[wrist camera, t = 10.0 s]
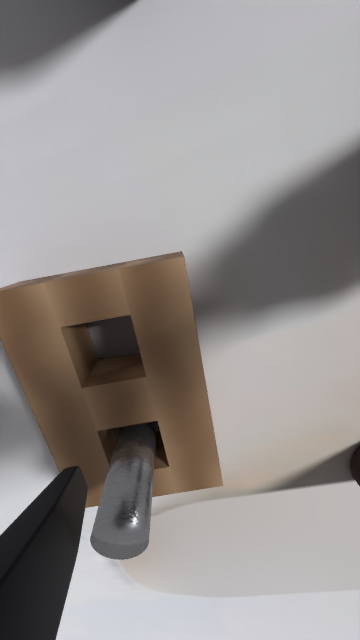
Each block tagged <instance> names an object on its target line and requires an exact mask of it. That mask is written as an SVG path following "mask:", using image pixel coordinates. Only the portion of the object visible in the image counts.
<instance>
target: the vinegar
mask: <svg viewBox="0 0 360 640" xmlns="http://www.w3.org/2000/svg"><path fill="white" fill-rule="evenodd" d="M350 468H351V473H352V476H353V478H354V479H355V480H356V482H357V483H358V485H359V486H360V447H359V448H358V449H357V451H356V452H355V454H354V456H353V457H352V461H351V466H350Z"/></svg>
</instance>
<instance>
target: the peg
mask: <svg viewBox="0 0 360 640" xmlns="http://www.w3.org/2000/svg"><path fill="white" fill-rule="evenodd" d="M157 422H158V421H152V422H146V423H141V424H135V425H129V426H123V427H120V428H119V432H118V435H117V439H116V443H115V447H114V450H113V454H112V458H111V462H110V466H109V469H108V473H107V477H106V481H105V485H104V488H103V492H102V496H101V500H100V504H99V507H98V511H97V515H96V519H95V523H94V526H93V530H92V534H91V538H90V541H91V545H92V547H93V548H94V550H95V551H96V552H98V553H99V554H101V555H102V556H105V557H108V558H111V559H129V558H133V557H136V556H138V555H139V554H141V553H142V552H143V551H144V550H145V549H146V548H147V546H148V543H149V531H150V518H151V504H152V490H153V476H154V463H155V449H156V435H157Z"/></svg>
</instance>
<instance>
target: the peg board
mask: <svg viewBox="0 0 360 640" xmlns="http://www.w3.org/2000/svg"><path fill="white" fill-rule="evenodd" d="M126 315H131V319H132V323H133V327H134V331H135V334H136V338H137V342H138V346H139V350H140V353H135V354H129V355H123V356H118V357H112V358H106V359H101V360H98V359H97V356H96V353H95V350H94V346H93V343H92V340H91V337H90V334H89V331H88V328H87V325H86V323H88V322H93V321H99V320H104V319H110V318H115V317H121V316H126ZM0 339H1V341H2V343H3V346H4V348H5V350H6V352H7V355H8V357H9V359H10V362H11V364H12V366H13V368H14V371H15V373H16V375H17V377H18V380H19V382H20V384H21V386H22V389H23V391H24V393H25V395H26V398H27V400H28V402H29V404H30V407H31V409H32V411H33V413H34V416H35V418H36V420H37V422H38V425H39V427H40V429H41V431H42V434H43V436H44V438H45V440H46V443H47V445H48V447H49V449H50V452H51V454H52V456H53V458H54V461H55V463H56V465H57V467H58V470H59V472H61V471H62V470H63V469H65V468H67V467H72V466H79V467H80V468H81V470H82V473H83V475H84V478H85V480H86V483H87V487H88V493H87V500H86V506H85V508H87V507H93V506H99V504H100V500H101V496H102V492H103V488H104V485H105V481H106V477H107V473H108V469H109V466H110V462H111V458H112V454H113V450H114V447H115V443H116V439H117V435H118V432H119V427H123V426H129V425H135V424H141V423H146V422H152V421H158V424H159V428H160V431H157V435H156V449H155V463H154V476H153V490H152V497H155V496H162V495H168V494H174V493H180V492H186V491H193V490H199V489H205V488H211V487H217V486H223V481H222V476H221V470H220V464H219V458H218V452H217V446H216V440H215V435H214V429H213V423H212V417H211V411H210V405H209V399H208V394H207V388H206V382H205V376H204V370H203V364H202V358H201V353H200V347H199V341H198V335H197V329H196V323H195V317H194V312H193V306H192V300H191V294H190V288H189V282H188V276H187V271H186V265H185V259H184V255H183V253H182V251H181V252H176V253H171V254H165V255H160V256H155V257H149V258H144V259H139V260H133V261H128V262H123V263H117V264H112V265H107V266H102V267H96V268H91V269H86V270H80V271H75V272H70V273H64V274H59V275H54V276H48V277H43V278H38V279H33V280H27V281H22V282H18V283H15V284H12V285H9V286H6V287H3V288H0Z"/></svg>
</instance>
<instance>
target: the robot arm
mask: <svg viewBox="0 0 360 640" xmlns="http://www.w3.org/2000/svg"><path fill="white" fill-rule="evenodd" d="M87 493H88V487H87V483H86V480H85V478H84V475H83V473H82V470H81V468H80V467H79V466H72V467H67V468H65V469H63V470H62V471H61V472H60V473H59V474H58V476H57V477H56V478H55V479H54V480H53V481H52V482H51V483H50V484H49V485H48V486H47V487H46V488H45V489H44V490H43V491H42V492H41V493H40V494H39V495H38V497H37V498H36V499H35V500H34V501H33V502H32V503H31V504H30V505H29V506H28V507H27V508H26V509H25V510H24V511H23V512H22V513H21V514H20V515H19V516H18V518H17V519H16V520H15V521H14V522H13V523H12V524H11V525H10V526H9V527H8V528H7V529H6V530H5V531H4V532H3V533H2V534H1V535H0V640H56V636H57V632H58V628H59V624H60V620H61V616H62V612H63V608H64V604H65V601H66V597H67V593H68V589H69V585H70V581H71V577H72V573H73V569H74V565H75V561H76V557H77V553H78V547H79V542H80V536H81V530H82V524H83V518H84V512H85V506H86V500H87Z"/></svg>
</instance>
